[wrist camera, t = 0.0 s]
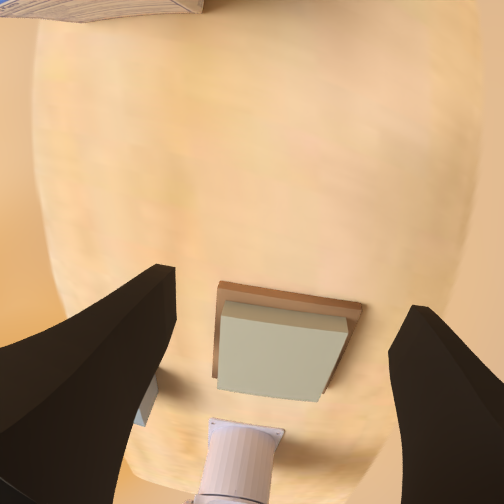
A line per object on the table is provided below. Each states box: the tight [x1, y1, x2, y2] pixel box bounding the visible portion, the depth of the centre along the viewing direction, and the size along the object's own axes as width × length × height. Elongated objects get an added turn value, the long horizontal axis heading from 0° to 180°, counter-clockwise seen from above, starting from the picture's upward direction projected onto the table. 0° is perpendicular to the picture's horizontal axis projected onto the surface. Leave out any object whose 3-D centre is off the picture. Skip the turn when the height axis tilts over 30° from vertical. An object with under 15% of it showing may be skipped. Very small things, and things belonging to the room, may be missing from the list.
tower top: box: [217, 300, 348, 402], centre depth 22 cm, size 8×8×2 cm
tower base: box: [212, 281, 362, 394], centre depth 23 cm, size 10×10×2 cm
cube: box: [134, 374, 158, 427], centre depth 26 cm, size 4×4×4 cm
